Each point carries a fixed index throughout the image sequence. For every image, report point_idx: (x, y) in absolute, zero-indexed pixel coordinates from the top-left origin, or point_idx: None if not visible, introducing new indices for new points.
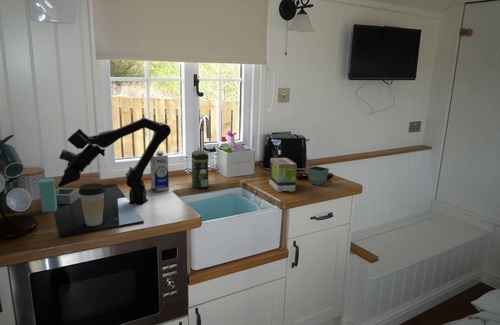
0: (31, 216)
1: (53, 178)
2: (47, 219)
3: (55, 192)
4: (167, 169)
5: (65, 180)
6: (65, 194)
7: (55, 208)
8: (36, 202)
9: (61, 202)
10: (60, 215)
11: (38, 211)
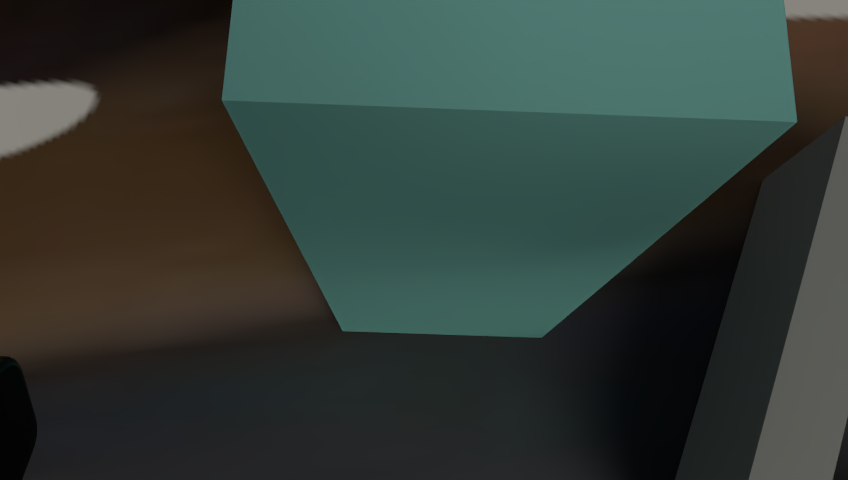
0: None
1: (762, 87)
2: (10, 248)
3: (561, 274)
4: None
5: None
6: (814, 474)
7: (351, 323)
8: (842, 21)
9: (710, 390)
10: (111, 424)
11: None
